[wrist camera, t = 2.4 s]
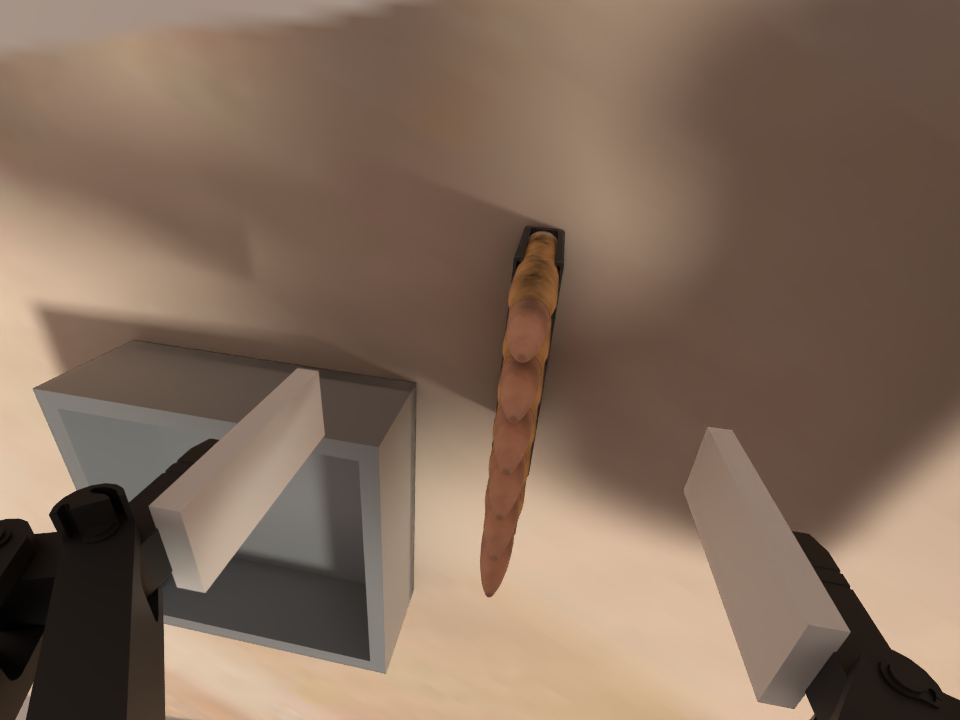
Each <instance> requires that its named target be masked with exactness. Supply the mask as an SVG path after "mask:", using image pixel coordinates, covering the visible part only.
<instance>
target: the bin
mask: <svg viewBox="0 0 960 720" xmlns="http://www.w3.org/2000/svg"><path fill="white" fill-rule="evenodd" d="M297 368H301V369H308V370H315V371H319V381H320V391H321V401H322V411H323V421H324V431H325V435H324V437H323V438H322V439H321V441H320V442H319V443H318V445H317V446H316V447H315V449H314V450H313V451H312V453H311V454H310V455H309V457H308V458H307V459H306V461H305V462H304V463H303V465H302V466H301V467H300V469H299V470H298V471H297V472H296V474H295V475H294V476H293V478H292V479H291V480H290V482H289V483H288V484H287V486H286V487H285V488H284V490H283V491H282V492H281V494H280V495H279V496H278V498H277V499H276V500H275V502H274V503H273V504H272V506H271V507H270V508H269V510H268V511H267V512H266V514H265V515H264V516H263V518H262V519H261V520H260V521H259V523H258V524H257V525H256V527H255V528H254V529H253V531H252V532H251V533H250V535H249V536H248V537H247V539H246V540H245V541H244V543H243V544H242V545H241V547H240V548H239V549H238V551H237V552H236V553H235V555H234V556H233V557H232V559H231V560H230V561H229V563H228V564H227V565H226V567H225V568H224V569H223V570H222V572H221V573H220V574H219V576H218V577H217V578H216V580H215V581H214V582H213V584H212V585H211V586H210V588H209V589H208V590H207V592H206V593H203V592H198V591H193V590H188V589H183V588H177V586H176V583H175V580H174V577H173V575H172V572H171V573H170V574H169V575H168V576H167V577H166V579H165V580H164V581H163V582H162V583H161V584H160V586H161V589H162V592H163V623H164V624H168V625H173V626H177V627H181V628H186V629H190V630H195V631H199V632H203V633H208V634H212V635H217V636H221V637H225V638H230V639H234V640H239V641H243V642H247V643H252V644H256V645H261V646H265V647H269V648H274V649H278V650H283V651H287V652H291V653H296V654H300V655H305V656H309V657H313V658H318V659H322V660H327V661H331V662H335V663H340V664H344V665H349V666H353V667H357V668H362V669H366V670H371V671H375V672H379V673H384V674H386V672H387V669H388V666H389V663H390V660H391V657H392V654H393V651H394V648H395V645H396V642H397V639H398V636H399V633H400V630H401V627H402V624H403V621H404V618H405V615H406V612H407V608H408V605H409V602H410V599H411V596H412V593H413V590H414V520H415V449H416V383H412V382H405V381H399V380H392V379H385V378H379V377H372V376H366V375H359V374H352V373H346V372H339V371H333V370H326V369H320V368H313V367H306V366H300V365H293V364H287V363H280V362H273V361H267V360H260V359H254V358H247V357H241V356H234V355H227V354H221V353H214V352H208V351H201V350H194V349H188V348H181V347H175V346H168V345H162V344H155V343H148V342H142V341H135V340H132V341H130V342H128V343H126V344H124V345H122V346H120V347H118V348H116V349H114V350H112V351H109V352H107V353H105V354H103V355H101V356H99V357H97V358H95V359H93V360H91V361H89V362H87V363H85V364H82V365H80V366H78V367H76V368H74V369H72V370H70V371H68V372H66V373H64V374H62V375H60V376H58V377H55V378H53V379H51V380H49V381H47V382H45V383H43V384H41V385H39V386H37V387H35V388H33V391H34V393H35V395H36V398H37V400H38V402H39V404H40V407H41V409H42V411H43V414H44V416H45V418H46V421H47V423H48V425H49V428H50V430H51V432H52V434H53V437H54V439H55V441H56V444H57V446H58V448H59V451H60V453H61V455H62V458H63V460H64V462H65V465H66V467H67V469H68V471H69V474H70V476H71V478H72V481H73V483H74V485H75V488H76V490H79V489H82V488H85V487H88V486H91V485H97V484H103V483H110V484H117V485H119V486H121V487H123V488H124V491H125V494H126V496H127V499H128V501H129V502H130V501H131V500H132V499H133V498H134V497H136V496H137V495H138V494H139V493H140V492H141V491H142V490H144V489H145V488H146V487H147V486H148V485H149V484H151V483H152V482H153V481H154V480H155V479H156V478H157V477H159V476H160V475H161V474H162V473H165V471H166V470H167V469H168V468H169V467H170V466H171V465H172V464H173V463H176V462H177V460H178V459H179V458H180V457H181V456H183V455H184V454H185V453H186V452H187V451H188V450H189V449H191V448H192V447H194V446H196V445H198V444H200V443H202V442H204V441H206V440H208V439H210V438H211V439H217V440H220V439H221V438H223V437H224V436H225V435H226V434H227V433H228V432H229V431H230V430H231V429H232V428H233V427H234V426H236V425H237V424H238V423H239V422H240V421H241V420H242V419H243V418H244V417H245V416H246V415H247V414H248V413H250V412H251V411H252V410H253V409H254V408H255V407H256V406H257V405H258V404H259V403H260V402H261V401H263V400H264V399H265V398H266V397H267V396H268V395H269V394H270V393H271V392H272V391H273V390H274V389H275V388H277V387H278V386H279V385H280V384H281V383H282V382H283V381H284V380H285V379H286V378H287V377H288V376H290V375H291V374H292V373H293V372H294V371H295V370H296V369H297Z"/></svg>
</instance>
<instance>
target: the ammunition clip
mask: <svg viewBox="0 0 960 720" xmlns="http://www.w3.org/2000/svg"><path fill="white" fill-rule="evenodd" d="M564 243H565V232H564V231H563V230H558V229H549V228H541V227H532V226H526V227H525V229H524V232H523V235H522V237H521V240H520V243H519V246H518V249H517V252H516V255H515V257H514V263H513V272H512V280H511V287H510V290H509V296H508V304H509V306H508V315H507V323H506V332H505V337H504V340H503V348H502V352H503V358H502V366H501V375H500V380H499V384H498V392H497V397H498V401H497V409H496V417H495V421H494V426H493V443H492V451H491V456H490V461H489V480H488V485H487V490H486V496H485V520H484V531H483V536H482V543H481V556H480V570H481V581H482V586H483V589H484V592H485V595H486V596H487V597H492V596H493V595H494V593H495V592H496V591H497V589H498V588H499V586H500V584H501V582H502V580H503V578H504V575H505V573H506V570H507V567H508V564H509V560H510V556H511V552H512V547H513V541H514V535H515V532H516V527H517V521H518V518H519V515H520V513H521V510H522V507H523V502H524V495H525V486H526V479H527V476H528V475H529V470H530V464H531V458H532V452H533V446H534V440H535V434H536V428H537V422H538V416H539V411H540V405H541V399H542V393H543V387H544V381H545V375H546V369H547V363H548V357H549V351H550V345H551V339H552V333H553V327H554V321H555V315H556V309H557V304H558V298H559V292H560V286H561V280H562V274H563V268H564Z"/></svg>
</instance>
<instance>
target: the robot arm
mask: <svg viewBox="0 0 960 720" xmlns="http://www.w3.org/2000/svg"><path fill="white" fill-rule="evenodd" d="M324 435H325V431H324V421H323V411H322V401H321V391H320V381H319V371H315V370H308V369H301V368H297V369H296V370H295V371H294V372H293V373H292V374H291V375H290V376H288V377H287V378H286V379H285V380H284V381H283V382H282V383H281V384H280V385H279V386H278V387H277V388H275V389H274V390H273V391H272V392H271V393H270V394H269V395H268V396H267V397H266V398H265V399H264V400H263V401H261V402H260V403H259V404H258V405H257V406H256V407H255V408H254V409H253V410H252V411H251V412H250V413H248V414H247V415H246V416H245V417H244V418H243V419H242V420H241V421H240V422H239V423H238V424H237V425H236V426H234V427H233V428H232V429H231V430H230V431H229V432H228V433H227V434H226V435H225V436H224V437H223V438H221V439H220V440H217V439H211V438H210V439H208V440H206V441H204V442H202V443H200V444H198V445H196V446H194V447H192V448H191V449H189V450H188V451H187V452H186V453H185V454H184V455H183V456H181V457H180V458H179V459H178V460H177V462H176V463H173V464H172V465H171V466H170V467H169V468H168V469H167V470H166V471H165V473H162V474H161V475H160V476H159V477H157V478H156V479H155V480H154V481H153V482H152V483H151V484H149V485H148V486H147V487H146V488H145V489H144V490H142V491H141V492H140V493H139V494H138V495H137V496H136V497H134V498H133V499H132V500H131V501H130V502H129V501H128V499H127V496H126V494H125V491H124V488H123V487H121V486H119V485H117V484H110V483H103V484H97V485H91V486H88V487H85V488H82V489H79V490H77V491H75V492H73V493H71V494H69V495H68V496H66V497H64V498H63V499H62V500H61V501H59V502H58V503H57V504H56V505H55V506H54V507H53V509H52V510H51V512H50V514H49V516H50V518H51V520H52V522H53V524H54V526H55V528H56V530H57V532H52V533H41V534H34V533H33V531H32V529H31V527H30V525H29V523H28V522H27V521H25V520H22V519H5V520H0V720H15V719H16V717H17V715H18V713H19V711H20V709H21V707H22V705H23V702H24V700H25V698H26V696H27V694H28V692H29V690H30V688H31V686H32V684H33V687H32V692H31V697H30V702H29V708H28V712H27V717H26V720H165V679H164V623H163V592H162V589H161V586H160V584H161V583H162V582H163V581H164V580H165V579H166V577H167V576H168V575H169V574H170V573H171V572H172V575H173V577H174V580H175V583H176V586H177V588H183V589H188V590H193V591H198V592H203V593H206V592H207V590H208V589H209V588H210V586H211V585H212V584H213V582H214V581H215V580H216V578H217V577H218V576H219V574H220V573H221V572H222V570H223V569H224V568H225V567H226V565H227V564H228V563H229V561H230V560H231V559H232V557H233V556H234V555H235V553H236V552H237V551H238V549H239V548H240V547H241V545H242V544H243V543H244V541H245V540H246V539H247V537H248V536H249V535H250V533H251V532H252V531H253V529H254V528H255V527H256V525H257V524H258V523H259V521H260V520H261V519H262V518H263V516H264V515H265V514H266V512H267V511H268V510H269V508H270V507H271V506H272V504H273V503H274V502H275V500H276V499H277V498H278V496H279V495H280V494H281V492H282V491H283V490H284V488H285V487H286V486H287V484H288V483H289V482H290V480H291V479H292V478H293V476H294V475H295V474H296V472H297V471H298V470H299V469H300V467H301V466H302V465H303V463H304V462H305V461H306V459H307V458H308V457H309V455H310V454H311V453H312V451H313V450H314V449H315V447H316V446H317V445H318V443H319V442H320V441H321V439H322V438H323V437H324ZM684 494H685V497H686V500H687V503H688V505H689V508H690V511H691V514H692V517H693V520H694V522H695V525H696V528H697V531H698V534H699V537H700V539H701V542H702V545H703V548H704V551H705V554H706V556H707V559H708V562H709V565H710V568H711V571H712V574H713V576H714V579H715V582H716V585H717V588H718V591H719V593H720V596H721V599H722V602H723V605H724V608H725V610H726V613H727V616H728V619H729V622H730V625H731V627H732V630H733V633H734V636H735V639H736V642H737V644H738V647H739V650H740V653H741V656H742V659H743V661H744V664H745V667H746V670H747V673H748V676H749V678H750V681H751V684H752V687H753V690H754V693H755V695H756V698H757V701H758V702H761V703H766V704H771V705H776V706H781V707H787V708H792V709H795V707H796V706H797V705H798V703H799V702H800V701H801V699H802V698H803V696H804V695H805V694H806V695H807V698H808V700H809V702H810V704H811V707H812V709H813V711H814V713H815V714H814V715H813V717H812V718H811V719H810V720H960V700H958V699H956V698H953V697H951V696H949V695H947V694H945V693H943V692H942V691H941V689H940V687H939V686H938V684H937V683H936V682H935V681H934V680H933V679H932V678H931V677H930V676H929V675H928V673H927V672H926V671H925V670H923V669H922V668H921V667H920V666H918V665H917V664H916V663H914V662H913V661H912V660H910V659H909V658H907V657H905V656H903V655H901V654H900V653H898V652H896V651H894V650H891V648H890V647H889V645H888V644H887V642H886V641H885V639H884V638H883V636H882V635H881V633H880V631H879V630H878V628H877V627H876V625H875V624H874V622H873V621H872V619H871V617H870V616H869V614H868V613H867V611H866V610H865V608H864V607H863V605H862V603H861V602H860V600H859V599H858V597H857V596H856V594H855V593H854V591H853V590H851V589H850V585H849V583H848V582H847V580H846V579H845V577H844V576H843V574H840V569H839V568H838V566H837V565H836V563H835V562H834V560H833V558H832V557H831V555H830V554H829V552H828V551H827V550H826V549H825V548H824V547H823V546H822V545H820V544H819V543H818V542H817V541H816V540H815V539H814V538H813V537H812V536H811V535H810V534H806V533H800V532H794V531H791V529H790V528H789V526H788V524H787V523H786V521H785V519H784V517H783V516H782V514H781V512H780V511H779V509H778V507H777V505H776V504H775V502H774V500H773V499H772V497H771V495H770V494H769V492H768V490H767V488H766V487H765V485H764V483H763V482H762V480H761V478H760V476H759V475H758V473H757V471H756V470H755V468H754V466H753V465H752V463H751V461H750V459H749V458H748V456H747V454H746V453H745V451H744V449H743V447H742V446H741V444H740V442H739V441H738V439H737V437H736V436H735V434H734V432H733V430H728V429H721V428H714V427H707V429H706V432H705V435H704V437H703V440H702V443H701V445H700V448H699V451H698V453H697V456H696V459H695V461H694V464H693V467H692V469H691V472H690V475H689V478H688V480H687V483H686V486H685V488H684ZM33 682H34V683H33Z"/></svg>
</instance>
